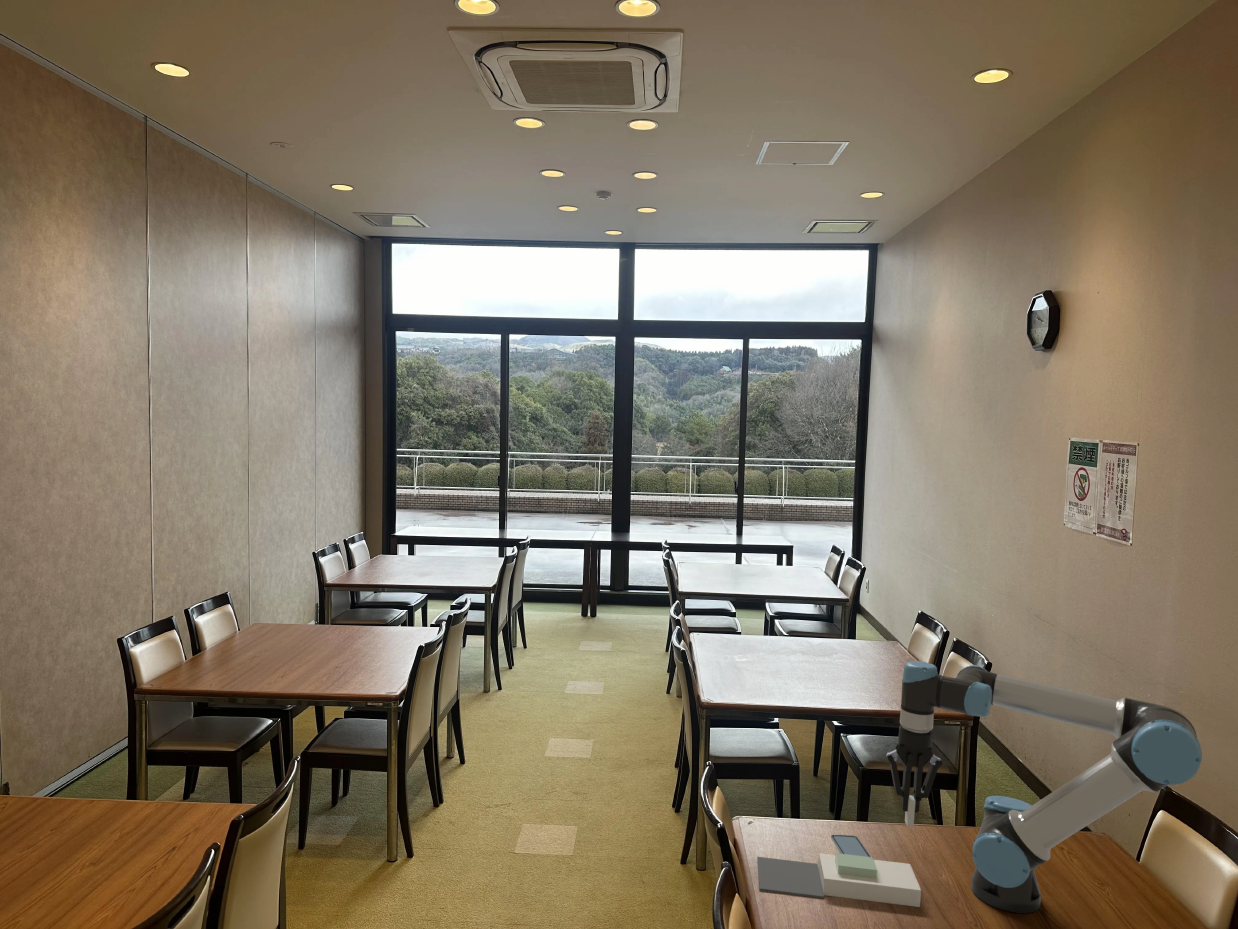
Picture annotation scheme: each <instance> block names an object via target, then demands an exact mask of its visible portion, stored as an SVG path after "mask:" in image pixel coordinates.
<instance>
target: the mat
mask: <svg viewBox="0 0 1238 929" xmlns="http://www.w3.org/2000/svg"><path fill="white" fill-rule="evenodd" d="M757 874H758V889H759V892H761V891H762V892H770V893H776V894H777V893H778V894H784V895H785V894H786V895H793V896H800V897H801V896H802V897H808V898H816V899H825V895H824V893H823V888H822V883H821V878H820V873H819V868H818V863H814V862H804V861H796V860H788V859H781V858H779V859H778V858H771V857H766V856H765V857H764V856H757Z"/></svg>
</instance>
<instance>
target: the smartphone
mask: <svg viewBox="0 0 1238 929" xmlns="http://www.w3.org/2000/svg"><path fill="white" fill-rule="evenodd" d="M830 839H831V840H832V842H833V843H834V845H835V847H836V849H837V850H838V851H839V853H840V854H848V855H857V856H865V857H872V856H871V854H870V853H869V852H868V851H867V849H866V847H865V846H864V844H863V843H862V842H861V841H860V839H859V837H858V836H856V835H850V834H849V835H847V834H831V837H830Z"/></svg>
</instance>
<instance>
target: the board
mask: <svg viewBox="0 0 1238 929" xmlns="http://www.w3.org/2000/svg"><path fill="white" fill-rule="evenodd" d="M874 862H875V865H876V868H877V878H870V877H861V876H853V875H845V874H838V872H837V868H836V864H835V854H829V853H828V854H827V853H821V852H819V853H818V863H817V864H818V868H819V873H820V878H821V883H822V888H823V893H824V896H829V897H835V898H844V899H850V900H851V899H852V900H853V899H854V900H859V901H869V902H876V903H882V904H883V903H884V904H892V905H899V906H900V905H901V906H909V907H917V908H921V898H922V895H921V894H922V890H921V886H920V884H919V882H918V880H917V877H916V874H915V873H914V870H913V867H912V865H911V864H910V863H904V862H896V861H890V860H889V861H888V860H880V859H874Z"/></svg>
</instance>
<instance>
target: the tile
mask: <svg viewBox="0 0 1238 929" xmlns="http://www.w3.org/2000/svg"><path fill="white" fill-rule="evenodd" d="M834 855H835V864H836V868H837V872H838V874H845V875H853V876H861V877H870V878H877V868H876V865H875V862H874V860H875V859H874V857H872V856H871V857H865V856H857V855H848V854H841V853H840V852H839V853H838V852H835V853H834Z"/></svg>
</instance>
